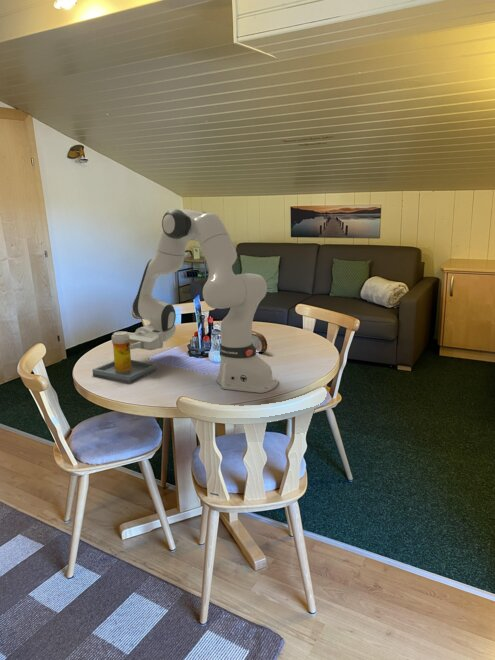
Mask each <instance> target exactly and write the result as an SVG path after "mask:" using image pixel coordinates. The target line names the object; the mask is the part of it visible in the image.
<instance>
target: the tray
mask: <svg viewBox="0 0 495 660" xmlns="http://www.w3.org/2000/svg"><path fill="white" fill-rule="evenodd" d="M157 371H158V364H157V363H151V362H146V361H140V360H136V359H135V360H134V359H131V370H130V371H129V372H127V373H118V372H117V371H116V370H115V362H114V360H113V361H110V362H108V363H106V364H103V365H100V366H98V367H95V368H93V369H92V376H93V377H97V378H101V379H106V380H111V381H115V382H121V383H126V384H132V383H134V382H136V381H138V380H141V379H143V378H144V377H147V376H149V375H151V374H152V373H156V372H157Z"/></svg>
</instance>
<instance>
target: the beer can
mask: <svg viewBox="0 0 495 660" xmlns="http://www.w3.org/2000/svg"><path fill="white" fill-rule="evenodd" d="M112 335H113V344H112V347H113V359H114V360H113V361H114V362H115V370H116V371H117V372H118V373H127V372H129V371H130V370H131V360H132V357H131V356H132V355H131V349H129V348H128V345H129V344H130V339H129V334H128V331H123V330H121V331H115V332H113V333H112Z"/></svg>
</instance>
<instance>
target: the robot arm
mask: <svg viewBox="0 0 495 660" xmlns="http://www.w3.org/2000/svg"><path fill="white" fill-rule="evenodd" d="M189 241H196V242H197V241H198V244H199V247H200V248H201V252H202V254H203V257H204V260H205V262H206V265H207V269H208V274H207V275H208V276H207V281H206V282H205V283H204V285H203V288H202V298H203V300H204V302H205V303H206V305H207V306H208V307H210V308H212V309H228V308H230V309H229V311H228V313H227V315H226V316H224V318H223V319H222V320H221V322H220V343H219V357H220V363H219V369H218V370H219V372H218V376H217V379H216V382H217V383H218V384H219V385H220V388H221V389H222V390H231V391H238V392H239V391H241V392H249V393H258V394H263V393H266V392H270V391H272V390H273V389H275V388H276V387H277V386H278V385H279V379H278V378H277V377H274V376H273V372H272V367H271V365H269V364H268V363H267V362H266V361H265V360H264V359H263V358H261V357H260V356H259V355H258V353H257V352H256V350H257V349H258V346H257V347H254V346H253V344H252V343H251V340H252V331H253V320H254V317H255V313H256V311H257V309H258V306H259V304H260V303H261V301H262V300H263V299H264V298H265V297H266V295H267V292H268V285H267V282H266V279H265V278H264V277H263V276H262V275H261V274H256V273H252V272H251V273H250V272H249V273H248V272H245V273H239V274H235V273H234V270H233V265H234V264H235V263H236V261H237V258H238V253H237V250H236V248H235V246H234V244H233V241H232V239H231V236H230V235H229V232H228V230H227V228H226V227H225V224H224V223H223V222H222V220H221V219H220V217H219V216H218V215H217V214H216V213H214V212H205V211H197V210H193V209H179V208H178V209H170V210H167V211H166V212H165V213H164V214H163V217H162V221H161V230H160V234H159V237H158V241H157V247H156V251H155V255H154V256H153V258H150V260H149V261H147V264H146V266H145V268H144V271H143V275H142V279H141V281H140V284H139V288H138V291H137V294H136V296H135V298H134V300H133V302H132V306H131V307H132V312H133V314H134V316H135V317H136V318H138V319H141V320H145V321H148V322H149V324H147V325H144V326H141V327H138V328H136V330H135V332H128V331H127V332H128V334H129V339H130V344H129V345H128V348H129V349H130V350H135V349H141V350H146V351H154V350H157V349H162V348H163V347H164V343H165V342H166V341H168V340H170V339H171V338H172V337H173V336H174V335H175V333H176V332H177V331H176V324H175V322H176V318H177V317H176V315H177V314H176V310H175V307H174V306H173V304H170V303H167V302H165V301H164V300H163V301H162V300H160V299H157V298H156V297H153V295H152V293H153V289H154V287H155V282H156V280H157V278H158V277H159V276H160V275H169V274H173V273H176V272H178V271H179V270H180V269H181V268H182V267H183V264H184V260H185V256H186V249H187V243H188V242H189ZM111 343H112V345H113V334H112V335H111Z"/></svg>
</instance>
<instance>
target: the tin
mask: <svg viewBox="0 0 495 660" xmlns="http://www.w3.org/2000/svg"><path fill="white" fill-rule="evenodd" d="M251 343H252V344H253V346H254V347H257V346H258V349H257V351H259V352H263V353H266V352H267V350H268V341H267V339H266V337H265V336H264V335H263V334H262V333H260V332H256V331H254V330H252V340H251Z"/></svg>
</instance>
